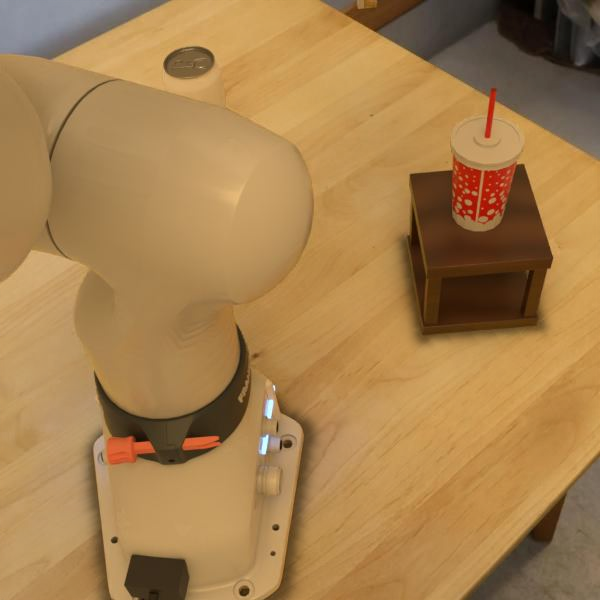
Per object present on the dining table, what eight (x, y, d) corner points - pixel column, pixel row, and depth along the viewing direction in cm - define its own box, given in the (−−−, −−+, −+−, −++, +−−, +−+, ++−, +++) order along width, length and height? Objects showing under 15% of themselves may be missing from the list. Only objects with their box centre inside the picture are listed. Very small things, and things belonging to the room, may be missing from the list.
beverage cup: (514, 193, 79) (536, 69, 68) (507, 242, 76) (529, 119, 65) (448, 185, 81) (460, 62, 70) (438, 232, 77) (449, 110, 66)
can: (231, 163, 99) (216, 78, 90) (176, 165, 100) (155, 81, 90) (235, 126, 103) (220, 41, 94) (182, 128, 104) (162, 44, 94)
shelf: (536, 325, 82) (553, 257, 74) (422, 335, 82) (427, 268, 75) (511, 233, 90) (524, 163, 82) (406, 242, 90) (409, 173, 82)
